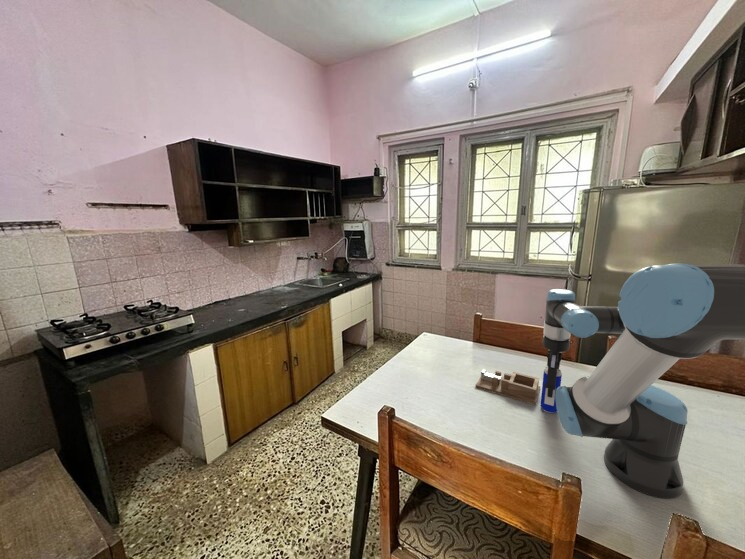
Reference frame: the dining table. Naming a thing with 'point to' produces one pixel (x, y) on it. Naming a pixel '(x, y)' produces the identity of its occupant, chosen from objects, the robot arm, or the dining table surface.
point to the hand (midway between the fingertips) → (549, 399)
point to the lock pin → (489, 376)
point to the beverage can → (558, 383)
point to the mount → (513, 386)
